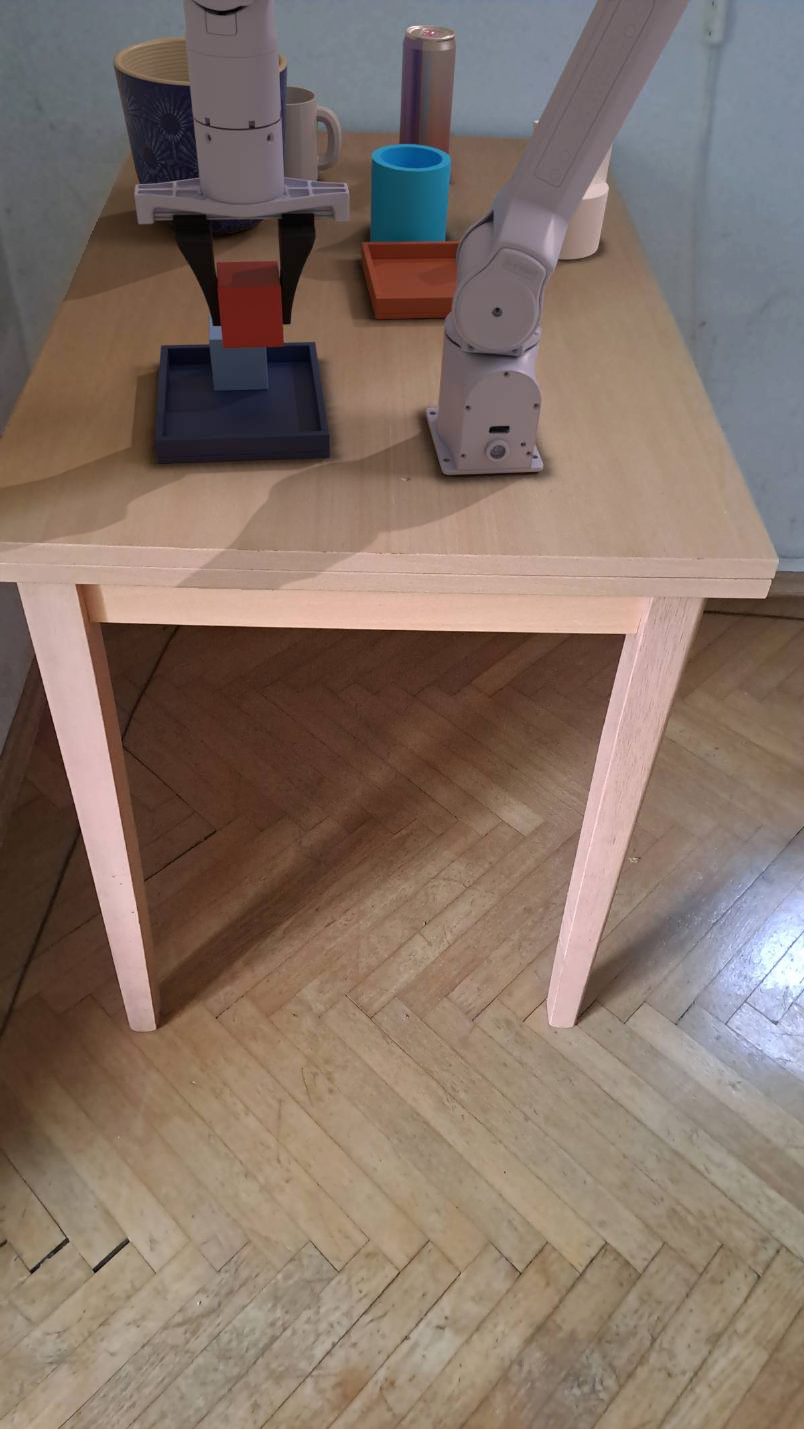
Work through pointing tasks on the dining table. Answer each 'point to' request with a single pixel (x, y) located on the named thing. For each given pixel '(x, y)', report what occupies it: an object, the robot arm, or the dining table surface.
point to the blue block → (236, 364)
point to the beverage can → (427, 86)
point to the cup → (308, 135)
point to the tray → (410, 278)
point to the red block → (250, 304)
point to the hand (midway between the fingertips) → (252, 319)
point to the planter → (169, 115)
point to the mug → (409, 193)
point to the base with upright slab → (587, 216)
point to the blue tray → (240, 409)
